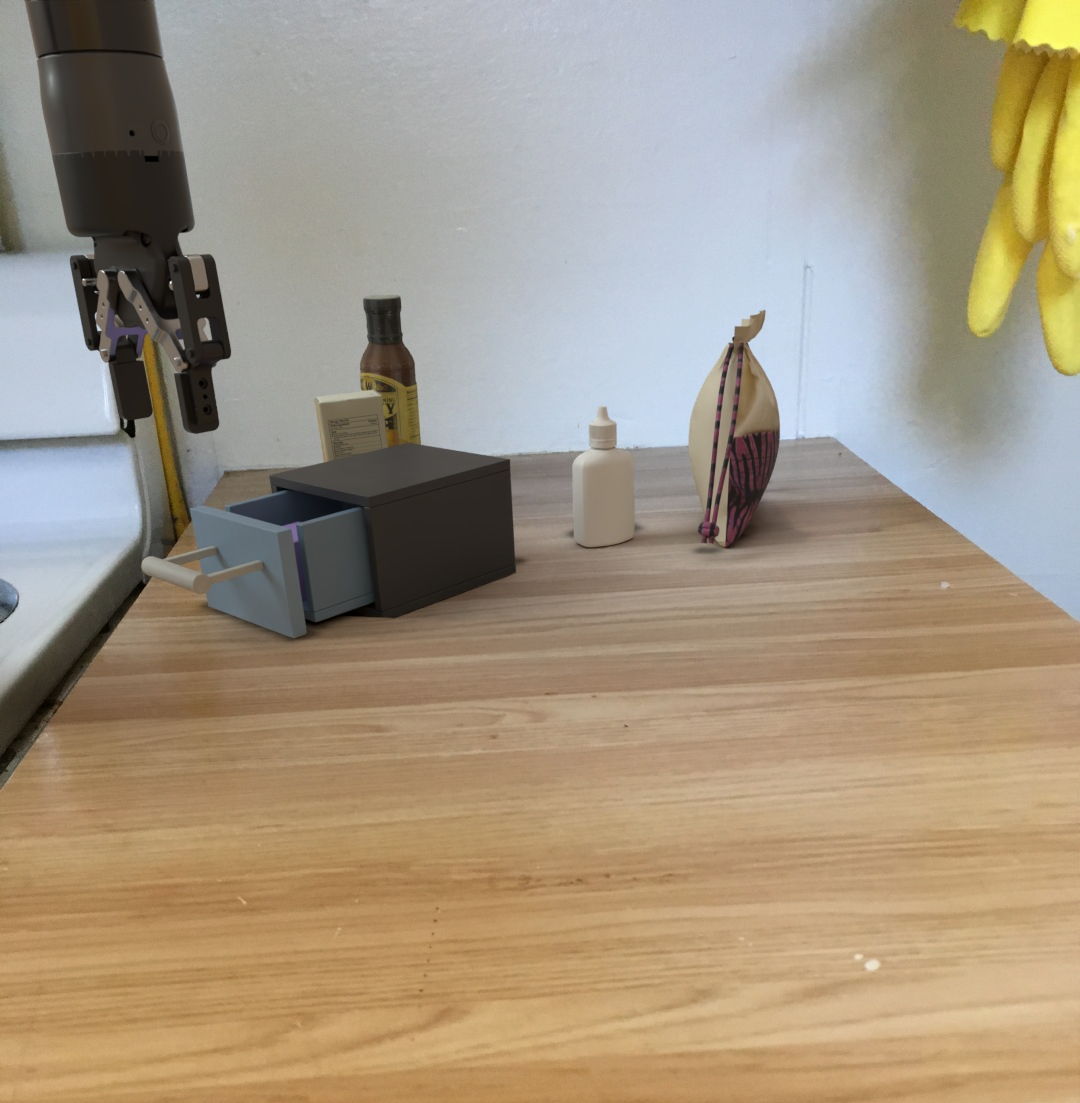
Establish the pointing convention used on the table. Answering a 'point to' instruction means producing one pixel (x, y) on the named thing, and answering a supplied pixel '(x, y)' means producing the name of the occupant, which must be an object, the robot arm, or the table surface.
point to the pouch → (733, 437)
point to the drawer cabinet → (421, 519)
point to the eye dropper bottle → (603, 488)
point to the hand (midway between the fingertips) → (168, 424)
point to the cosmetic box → (350, 424)
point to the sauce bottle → (390, 369)
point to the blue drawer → (276, 560)
